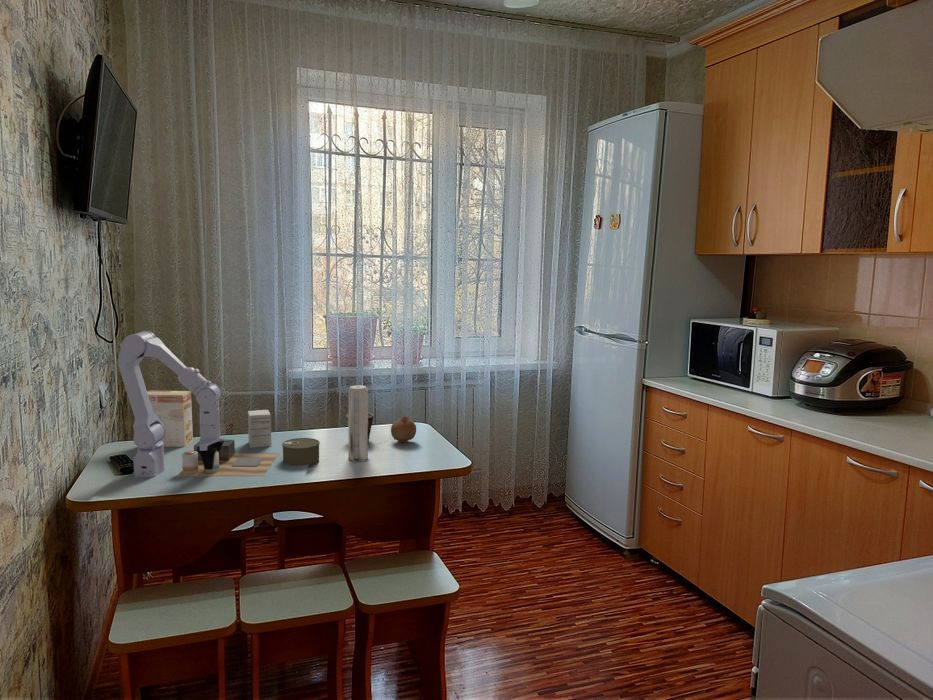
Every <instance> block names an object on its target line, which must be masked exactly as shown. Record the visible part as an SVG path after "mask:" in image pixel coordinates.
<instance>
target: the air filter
mask: <svg viewBox="0 0 933 700" xmlns="http://www.w3.org/2000/svg"><path fill="white" fill-rule="evenodd" d="M347 394H348V398H347V399H348V403H347V404H348V410H347V411H348V412H347V414H348V420H349V427H348V460H350V461H351V460H352V461H351V462H364V461H367V460H368V458H369V442H368V413H369V389H368V386H365V385H351V386H349V389H348V392H347ZM366 459H367V460H366ZM363 460H364V461H363Z"/></svg>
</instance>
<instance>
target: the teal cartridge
mask: <svg viewBox="0 0 933 700" xmlns="http://www.w3.org/2000/svg"><path fill="white" fill-rule="evenodd" d="M218 471H219V451H217V450H216V452H215V456H214V464H213V469H205V467H204V472H205V473H214V472H218Z"/></svg>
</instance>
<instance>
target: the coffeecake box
mask: <svg viewBox="0 0 933 700" xmlns="http://www.w3.org/2000/svg"><path fill="white" fill-rule="evenodd" d="M147 393H148V396H149V399H150V403H151V406H152V409H153V412H154V414H156V415H157V416H158V417H159V420H160V422H161V423H162V424H163V425H164V426H165V429H166V434H165V436H164V438H163V439H162V441H163V446H164V448H166V447H183V448H184V447H187V446H189V445H190V444H191V443H193V442H194V435H193V432H194V431H193V411H192V410H193V409H192V408H193V407H192V405H193V404H192V393H191V392H190V391H189V390H154V389H153V390H147Z"/></svg>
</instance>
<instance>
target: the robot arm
mask: <svg viewBox="0 0 933 700" xmlns="http://www.w3.org/2000/svg"><path fill="white" fill-rule="evenodd" d="M119 346H120V351H119V355H118V359H117V366H118V369H119V372H120V375H121V378H122V382H123V385H124V388H125V391H126V394H127V397H128V398H127V399H128V401H129V405H130V407H131V410H132V413H133V416H134V422H133V424H132V428H133V438H132V439H133V442H134V444H135V446H136V448H137V453H136V454H135V455H134V457H133V475H134V478H155V477H157V476H158V475H159V474H161V473H163V472H165V470H166V469H165V468H166V467H165V454H164V452H165V449H164V448H165V447H164V446H163V441H162V439H163V438H164V436H165V434H166V429H165V426H164V425H163V424H162V423H161V422H160V420H159V417H158V416H157V415H156V414H154V412H153V409H152V406H151V403H150V399H149V396H148V393H147V391H148V390H147V388H146V383H145V380H144V377H143V374H142V372H141V368H140V363H141V362H142V360H143V359H144V357H146V358H147V357H149V358H156V359H157V360H159V361H160V362H161V363H163V365H165V366H166V367H167V368H169V369H170V370H171V371H173V372H174V373H175V374H176V375H177V380H178V382H179V383H180V384H181V385H183V386H184V388H185V389H187V391H190V392H191V394H192V395H193V396H195V400H196V402H197V403H198V404H199V410H198V411H199V432H200V434H199V435H200V438H199V441H200V445H199V446H200V447H198V448H197V451H198V453H199V454H200V456H201V458H202V461H203V464H204V467H205V469H213V464H214V456H215V452H216V450H217V451H219V454H220V450H221V447H222V445H223V443H224V439H225V437H224V436H221V435H222V433H221V424H220V423H221V421H220V420H221V417H220V400H219V399H220V398H221V395H222V390H221V388H220V387H219V386H218V384H216V383H212V381H211V380H207V379H206V378H205V377H204V376H203V375H202V374H201V373H200V369H198V368H194V367H192V366H186V365H185V363H183V362H182V361H181V360H180V359H179V358H178V357H177V356H176V355H175V354H174V353H173V352H172V351H171V350H170V349H169V348H168V346H166V345H165V343H164V342H163V341H162V340H161V339H160V338H159V337H157V336H156V335H155V333H153V332H152V331H149V330H142V331H140V332H137V333H132V334H129V335H127V336H126V337H125V338H124V339H123V340H122V341H121V342H120V344H119Z"/></svg>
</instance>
